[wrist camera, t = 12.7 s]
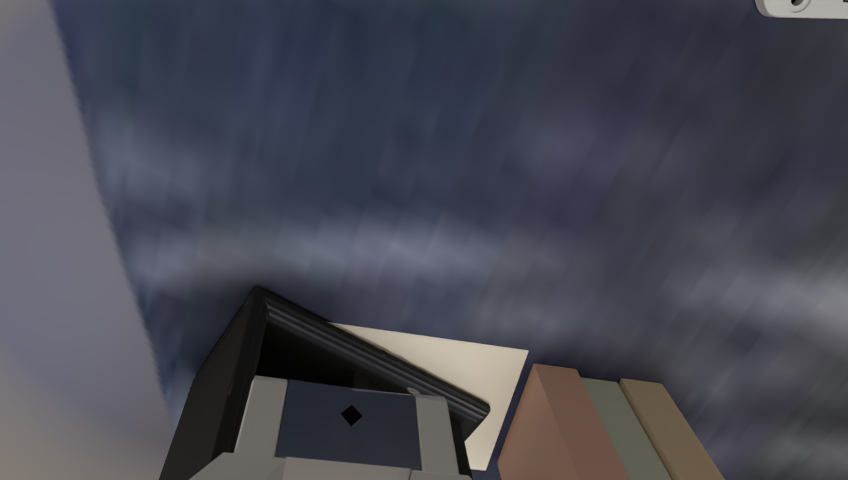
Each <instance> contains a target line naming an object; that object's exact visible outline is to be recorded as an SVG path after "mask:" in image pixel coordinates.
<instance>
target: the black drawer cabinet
mask: <svg viewBox="0 0 848 480" xmlns="http://www.w3.org/2000/svg"><path fill="white" fill-rule="evenodd" d="M255 376H264V377H271V378H279V379H286V380H288V382H289V379H290V380H297V381H304V382H312V383H319V384H326V385H334V386H341V387H348V388H354V389H364V390H373V391H382V392H391V393H401V394H410V395H413V394H418V395H429V396H440V397H444V398H445V399H446V401H447V405H448V411H449V416H450V422H451V428H452V434H453V440H454V446H455V452H456V458H457V464H458V470H459V475H467V476H469V477H470V478H471V479H472V480H473V478H472V474H471V469H470V465H469V460H468V456H467V451H466V447H465V441H466V440H467V439H468V438H469V436H470V435H471V434H472V433H473V432H474V431H475V430H476V428H477V427H478V426H479V425H480V424H481V423H482V422H483V421H484V419H485V418H486V417H487V416H488V414H489V413H490V411H491V409H490V405H489V404H487V403H486V402H484V401H482V400H480V399H478V398H476V397H474V396H472V395H470V394H468V393H466V392H464V391H462V390H460V389H458V388H456V387H454V386H452V385H450V384H448V383H446V382H444V381H442V380H440V379H438V378H436V377H434V376H432V375H430V374H428V373H426V372H425V371H422V370H421V369H418V368H416V367H415V366H412V365H410V364H409V363H406V362H405V361H403V360H401V359H399V358H397V357H394V356H392V355H391V354H389V353H387V352H386V351H384V350H381V349H379V348H377V347H375V346H373V345H371V344H369V343H367V342H366V341H363V340H361V339H359V338H357V337H355V336H354V335H352V334H349V333H347V332H345V331H343V330H341V329H339V328H337V327H335V326H333V325H332V324H330V323H328V322H326V321H324V320H322V319H320V318H317V317H315V316H314V315H312V314H310V313H308V312H306V311H304V310H302V309H300V308H298V307H296V306H294V305H292V304H290V303H288V302H286V301H284V300H282V299H280V298H278V297H276V296H274V295H272V294H270V293H268V292H266V291H264V290H261V289H259V288H257V287H256V288H254V290H253V292H252V293H250V294H249V296H248V298H247V299H246V302H245V304H244V305H243V306H242V307H241V309H240V310H239V311H238V313H237V314H236V316H235V317H234V319H233V320H232V321H231V323H230V324H229V325H228V327H227V329H226V331H225V332H224V334H223V336H222V337H221V338H220V340H219V341H218V342H217V343H216V347H215V348H214V349H213V350H212V351H211V353H210V355H208V357H207V358H206V361H205V363H204V364H203V366H202V368H201V369H200V370H199V372H198V374H197V375H196V377H195V378H194V380H193V383H192V386H191V387H190V392H189V394H188V397H187V400H186V403H185V406H184V409H183V412H182V415H181V417H180V420H179V423H178V426H177V429H176V432H175V435H174V437H173V440H172V443H171V446H170V449H169V452H168V455H167V458H166V461H165V464H164V466H163V469H162V472H161V475H160V478H159V480H189V479H191V478H192V477H193V476H194V475H196V474H197V473H198V472H199V471H201V470H202V469H203V468H204V467H206V466H207V465H208V464H209V463H211V462H212V461H213V460H215V459H216V458H217V457H218V456H220V455H221V454H222V453H234V450H235V446H236V443H237V439H238V435H239V431H240V427H241V423H242V419H243V415H244V411H245V407H246V404H247V400H248V396H249V392H250V388H251V384H252V381H253V379H254V377H255ZM287 388H288V385H287Z"/></svg>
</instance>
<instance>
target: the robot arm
mask: <svg viewBox="0 0 848 480" xmlns="http://www.w3.org/2000/svg"><path fill="white" fill-rule="evenodd" d="M755 3H756V6H757V9H758V10H759V12H760V13H761V14H762V15H764V16H767V17H786V18H829V19H848V0H796V1H795V2H794V3H793V4H792V3H791V0H755ZM287 385H288V388H287ZM189 480H472V479H471V478H470V477H469V476H467V475H459V470H458V464H457V458H456V452H455V446H454V440H453V434H452V428H451V422H450V416H449V411H448V405H447V401H446V399H445V398H444V397H440V396H429V395H418V394H413V395H410V394H401V393H391V392H382V391H373V390H364V389H354V388H348V387H341V386H334V385H326V384H319V383H312V382H304V381H297V380H290V379H289V382H288V380H286V379H279V378H271V377H264V376H255V377H254V379H253V381H252V384H251V388H250V392H249V396H248V400H247V404H246V407H245V411H244V415H243V419H242V423H241V427H240V431H239V435H238V439H237V443H236V446H235V450H234V453H222V454H221V455H220V456H218V457H217V458H216V459H215V460H213V461H212V462H211V463H209V464H208V465H207V466H206V467H204V468H203V469H202V470H201V471H199V472H198V473H197V474H196V475H194V476H193V477H192V478H191V479H189Z"/></svg>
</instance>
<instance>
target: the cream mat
mask: <svg viewBox="0 0 848 480" xmlns="http://www.w3.org/2000/svg"><path fill="white" fill-rule="evenodd" d="M328 323H330V322H328ZM330 324H332V325H333V326H335V327H337V328H339V329H341V330H343V331H345V332H347V333H349V334H352V335H354V336H355V337H357V338H359V339H361V340H363V341H366V342H367V343H369V344H371V345H373V346H375V347H377V348H379V349H381V350H384V351H386V352H387V353H389V354H391V355H392V356H394V357H397V358H399V359H401V360H403V361H405V362H406V363H409V364H410V365H412V366H415V367H416V368H418V369H421V370H422V371H425V372H426V373H428V374H430V375H432V376H434V377H436V378H438V379H440V380H442V381H444V382H446V383H448V384H450V385H452V386H454V387H456V388H458V389H460V390H462V391H464V392H466V393H468V394H470V395H472V396H474V397H476V398H478V399H480V400H482V401H484V402H486V403H487V404H489V405H490V409H491V411H490V413H489V414H488V416H487V417H486V418H485V419H484V421H483V422H482V423H481V424H480V425H479V426H478V427H477V428H476V430H475V431H474V432H473V433H472V434H471V435H470V436H469V438H468V439H467V440H466V441H465V447H466V451H467V456H468V460H469V465H470V469H476V470H485V471H486V468H487V465H488V463H489V460H490V457H491V454H492V451H493V449H494V446H495V443H496V440H497V438H498V435H499V432H500V429H501V426H502V424H503V421H504V418H505V415H506V413H507V410H508V407H509V404H510V401H511V399H512V396H513V393H514V390H515V387H516V385H517V382H518V379H519V376H520V374H521V371H522V368H523V365H524V362H525V360H526V357H527V354H528V351H529V350H522V349H515V348H508V347H501V346H494V345H487V344H480V343H473V342H465V341H458V340H451V339H444V338H437V337H430V336H423V335H416V334H408V333H401V332H394V331H387V330H380V329H373V328H366V327H359V326H352V325H344V324H337V323H330Z"/></svg>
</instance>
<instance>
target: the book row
mask: <svg viewBox="0 0 848 480" xmlns="http://www.w3.org/2000/svg"><path fill="white" fill-rule="evenodd" d="M497 464H498V468H499V472H500V476H501V480H725V479H724V478H723V476H722V475H721V473H720V472H719V470H718V469H717V467H716V465H715V464H714V462H713V461H712V459H711V458H710V456H709V455H708V453H707V452H706V450H705V449H704V447H703V446H702V444H701V443H700V441H699V439H698V438H697V436H696V435H695V433H694V432H693V430H692V429H691V427H690V426H689V424H688V423H687V421H686V420H685V418H684V417H683V415H682V413H681V412H680V410H679V409H678V407H677V406H676V404H675V403H674V401H673V400H672V398H671V397H670V395H669V394H668V392H667V391H666V389H665V387H664V386H663V384H661V383H654V382H647V381H639V380H632V379H624V378H621V380H620V382H619V384H618V383H617V382H612V381H604V380H597V379H590V378H582V377H580V376H579V373H578V371H577V369H572V368H565V367H558V366H550V365H543V364H536V363H533V366H532V368H531V371H530V374H529V377H528V379H527V382H526V385H525V387H524V390H523V393H522V396H521V398H520V401H519V404H518V406H517V409H516V412H515V415H514V417H513V420H512V423H511V426H510V428H509V431H508V434H507V436H506V439H505V442H504V445H503V447H502V450H501V453H500V456H499V458H498V461H497Z"/></svg>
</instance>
